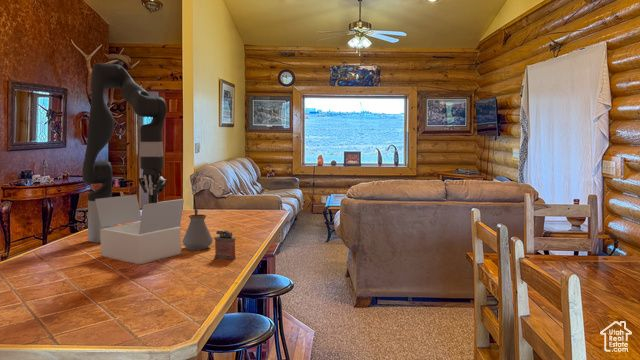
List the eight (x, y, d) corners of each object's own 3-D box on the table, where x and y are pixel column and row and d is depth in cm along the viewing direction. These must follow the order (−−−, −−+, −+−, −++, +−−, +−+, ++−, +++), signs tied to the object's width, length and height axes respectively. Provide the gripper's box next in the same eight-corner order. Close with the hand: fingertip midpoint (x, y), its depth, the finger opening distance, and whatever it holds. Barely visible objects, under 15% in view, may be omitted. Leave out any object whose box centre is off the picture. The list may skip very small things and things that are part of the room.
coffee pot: (213, 250, 183) (213, 211, 181) (182, 252, 179) (181, 213, 178) (210, 239, 203) (209, 204, 202) (182, 240, 200) (181, 205, 199)
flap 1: (101, 227, 173) (100, 227, 173) (142, 220, 187) (141, 220, 187) (95, 199, 173) (95, 199, 174) (136, 194, 188) (135, 194, 188)
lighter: (237, 258, 171) (237, 230, 170) (232, 260, 168) (232, 232, 167) (217, 256, 174) (217, 229, 173) (212, 258, 170) (212, 230, 170)
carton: (101, 255, 173) (100, 228, 173) (143, 246, 189) (142, 221, 188) (139, 264, 162) (138, 235, 161) (181, 254, 177) (180, 227, 176)
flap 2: (142, 204, 159) (143, 204, 159) (183, 198, 173) (184, 199, 173) (139, 233, 161) (140, 234, 161) (179, 225, 176) (180, 226, 175)
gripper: (130, 155, 163) (131, 205, 164) (155, 155, 156) (156, 208, 157) (148, 154, 169) (149, 203, 171) (173, 155, 162) (174, 205, 163)
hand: (153, 205), depth 164 cm, fingers closed
